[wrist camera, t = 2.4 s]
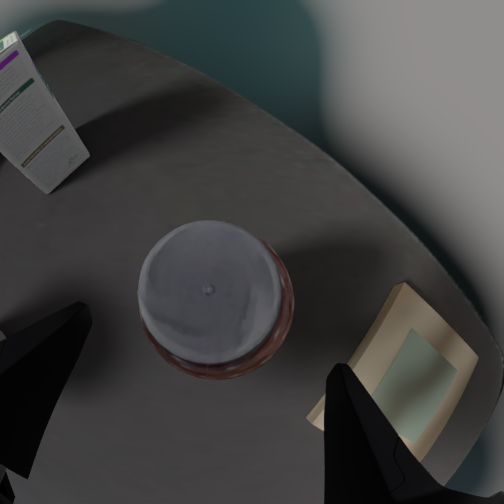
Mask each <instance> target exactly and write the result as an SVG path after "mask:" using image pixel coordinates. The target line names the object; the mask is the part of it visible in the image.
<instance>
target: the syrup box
mask: <svg viewBox="0 0 504 504" xmlns="http://www.w3.org/2000/svg"><path fill="white" fill-rule="evenodd" d="M0 152H1V153H2V154H3V155H4V156H5V157H6V158H7V159H8V160H9V161H10V162H11V163H12V164H13V165H14V166H15V167H16V168H18V169H19V170H20V171H21V172H22V173H23V174H24V175H25V176H26V177H27V178H28V179H29V180H31V181H32V182H33V183H34V184H35V185H36V186H37V187H38V188H40V189H41V190H42V191H43V192H44V193H46V194H49V193H50V192H51V191H52V190H53V189H55V188H56V187H57V186H58V185H59V184H60V183H61V182H62V181H63V180H64V179H65V178H66V177H68V176H69V175H70V174H71V173H72V172H73V171H74V170H75V169H76V168H77V167H78V166H80V165H81V164H82V163H83V162H84V161H85V160H86V159H87V158H89V157H90V154H89V152H88V150H87V149H86V147H85V145H84V144H83V142H82V140H81V139H80V137H79V136H78V134H77V132H76V131H75V129H74V128H73V126H72V125H71V123H70V122H69V120H68V118H67V117H66V115H65V114H64V112H63V110H62V109H61V107H60V106H59V104H58V102H57V101H56V99H55V97H54V95H53V94H52V92H51V90H50V89H49V87H48V85H47V84H46V82H45V81H44V79H43V77H42V76H41V74H40V72H39V71H38V69H37V68H36V66H35V64H34V63H33V61H32V59H31V58H30V56H29V54H28V52H27V51H26V49H25V47H24V45H23V43H22V42H21V40H20V38H19V36H18V34H17V32H16V31H13V32H11V33H10V34H8V35H7V36H5V37H4V38H3V39H1V40H0Z"/></svg>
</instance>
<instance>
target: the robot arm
mask: <svg viewBox="0 0 504 504" xmlns="http://www.w3.org/2000/svg"><path fill="white" fill-rule="evenodd" d="M91 326H92V317H91V313H90V309H89V306H88V305H87V304H86V303H83V302H80V301H78V302H76V303H73V304H71V305H69V306H67V307H65V308H63V309H61V310H59V311H57V312H55V313H53V314H51V315H49V316H48V317H46V318H44V319H42V320H40V321H38V322H36V323H34V324H32V325H30V326H28V327H26V328H24V329H22V330H20V331H18V332H17V333H15V334H13V335H11V336H9V337H7V338H6V339H3V340H1V341H0V504H13V502H14V499H15V495H14V493H13V490H12V487H11V485H10V482H9V479H8V476H7V473H6V468H8V469H9V470H11V471H13V472H15V473H16V474H18V475H20V476H22V477H24V478H26V479H28V477H29V474H30V471H31V468H32V465H33V462H34V459H35V456H36V453H37V450H38V448H39V445H40V442H41V439H42V437H43V434H44V431H45V429H46V426H47V424H48V422H49V419H50V417H51V414H52V412H53V410H54V408H55V405H56V403H57V401H58V399H59V396H60V394H61V392H62V390H63V388H64V386H65V384H66V382H67V380H68V378H69V375H70V373H71V371H72V370H73V368H74V366H75V364H76V362H77V360H78V357H79V355H80V353H81V350H82V348H83V345H84V343H85V340H86V338H87V335H88V333H89V331H90V328H91ZM324 450H325V491H324V504H504V492H503V491H501V492H498V493H496V494H494V495H492V496H490V497H488V498H486V497H479V496H475V495H471V494H467V493H462V492H459V491H455V490H452V489H448V488H446V487H444V486H442V485H440V484H439V483H438V482H437V481H436V480H435V479H434V478H433V477H432V476H431V475H430V473H429V472H428V471H427V470H426V469H425V468H424V467H423V466H422V464H421V463H420V462H419V461H418V460H417V459H416V457H415V456H414V455H413V454H412V453H411V451H410V450H409V449H408V447H407V446H406V444H405V443H404V442H403V440H402V439H401V437H400V436H399V435H398V433H397V432H396V430H395V429H394V428H393V426H392V425H391V423H390V422H389V421H388V419H387V418H386V416H385V415H384V413H383V412H382V411H381V409H380V408H379V406H378V405H377V404H376V402H375V401H374V399H373V398H372V397H371V395H370V394H369V392H368V391H367V390H366V388H365V387H364V385H363V384H362V383H361V381H360V380H359V379H358V377H357V376H356V374H355V373H354V372H353V370H352V369H351V367H350V366H349V365H348V364H343V363H337V364H336V365H335V366H334V368H333V369H332V371H331V372H330V373H329V375H328V377H327V380H326V393H325V407H324Z"/></svg>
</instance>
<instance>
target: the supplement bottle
mask: <svg viewBox="0 0 504 504" xmlns="http://www.w3.org/2000/svg"><path fill="white" fill-rule="evenodd" d="M137 294H138V299H139V309H140V310H139V314H140V318H141V322H142V325H143V328H144V331H145V333H146V335H147V337H148V339H149V341H150V343H151V344H152V346H153V348H154V349H155V350H156V351H157V352H158V354H159V355H160V356H161V357H163V358H164V359H165V360H166V361H167V362H168V363H169V364H171V365H172V366H173V367H175V368H177V369H178V370H180V371H182V372H184V373H187V374H189V375H192V376H195V377H198V378H203V379H213V380H221V379H230V378H235V377H239V376H242V375H245V374H247V373H250V372H252V371H254V370H255V369H257V368H259V367H260V366H262V365H263V364H264V363H266V362H267V361H268V360H269V359H270V358H271V357H272V356H273V355H274V354H275V353H276V352H277V351H278V349H279V348H280V347H281V345H282V344H283V342H284V340H285V338H286V336H287V334H288V332H289V330H290V327H291V324H292V319H293V315H294V302H295V301H294V291H293V286H292V282H291V279H290V276H289V274H288V271H287V269H286V267H285V265H284V263H283V262H282V260H281V259H280V257H279V256H278V254H277V253H276V252H275V251H274V249H273V248H272V247H270V246H269V245H268V244H267V243H266V242H265V241H263V240H262V239H261V238H259V237H258V236H256V235H254V234H252V233H250V232H249V231H247V230H246V229H244V228H242V227H239V226H237V225H235V224H232V223H228V222H224V221H218V220H203V221H196V222H191V223H187V224H185V225H182V226H180V227H178V228H176V229H174V230H173V231H171V232H170V233H168V234H167V235H166V236H164V237H163V238H161V239H160V240H159V241H158V243H156V245H155V246H154V247H153V248H152V249H151V251H150V253H149V254H148V256H147V257H146V259H145V261H144V263H143V266H142V270H141V273H140V278H139V284H138V290H137Z"/></svg>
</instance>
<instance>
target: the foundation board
mask: <svg viewBox="0 0 504 504" xmlns="http://www.w3.org/2000/svg"><path fill="white" fill-rule="evenodd" d="M478 358H479V357H478V356H477V355H476V354H475V352H474V351H473V350H472V349H471V348H470V347H469V346H468V345H467V344H466V343H465V341H464V340H463V339H462V338H461V337H460V336H459V335H458V334H457V333H456V332H455V331H454V330H453V329H452V328H451V327H450V326H449V325H448V324H447V323H446V322H445V320H444V319H443V318H442V317H441V316H440V315H439V314H438V313H437V312H436V311H435V310H434V309H433V308H432V307H430V306H429V305H428V304H427V303H426V302H425V301H424V300H423V299H422V298H421V297H420V296H419V295H418V294H417V293H416V292H415V291H414V290H413V289H412V288H411V287H410V286H408V285H407V284H406V283H405V282H403V283H400V284H397V285H394V287H393V289H392V290H391V292H390V294H389V296H388V298H387V300H386V301H385V303H384V305H383V307H382V309H381V310H380V312H379V314H378V315H377V317H376V319H375V321H374V322H373V324H372V326H371V327H370V329H369V330H368V332H367V334H366V335H365V337H364V338H363V340H362V342H361V343H360V345H359V346H358V348H357V349H356V351H355V352H354V354H353V355H352V357H351V358H350V360H349V361H348V363H347V364H348V365H349V366H350V367H351V369H352V370H353V372H354V373H355V374H356V376H357V377H358V379H359V380H360V381H361V383H362V384H363V385H364V387H365V388H366V390H367V391H368V392H369V394H370V395H371V397H372V398H373V399H374V401H375V402H376V404H377V405H378V406H379V408H380V409H381V411H382V412H383V413H384V415H385V416H386V418H387V419H388V421H389V422H390V423H391V425H392V426H393V428H394V429H395V430H396V432H397V433H398V435H399V436H400V437H401V439H402V440H403V442H404V443H405V444H406V446H407V447H408V449H409V450H410V451H411V453H412V454H413V455H414V456H415V457H416V459H417V460H418V461H419V462H421V461H422V459H423V458H424V457H425V455H426V454H427V452H428V451H429V450H430V448H431V447H432V445H433V444H434V442H435V441H436V439H437V438H438V436H439V434H440V433H441V431H442V430H443V428H444V426H445V425H446V423H447V421H448V420H449V418H450V416H451V415H452V413H453V411H454V409H455V407H456V405H457V404H458V402H459V400H460V398H461V396H462V394H463V392H464V390H465V388H466V386H467V384H468V382H469V379H470V377H471V375H472V373H473V370H474V368H475V366H476V363H477V361H478ZM324 407H325V394H324V395H323V397H322V398H321V399H320V400H319V402H318V403H317V404H316V405H315V407H314V408H313V409H312V410H311V412H310V413H309V414H308V415H307V416H306V418H307V419H308V420H309V421H310V422H311V424H313V425H315V426H316V427H318V428H320V429H321V430H323V431H324Z"/></svg>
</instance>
